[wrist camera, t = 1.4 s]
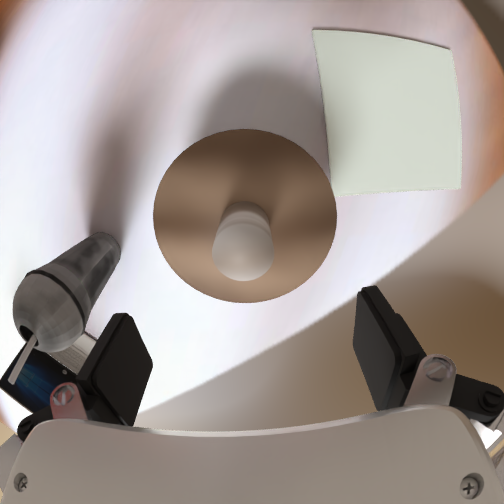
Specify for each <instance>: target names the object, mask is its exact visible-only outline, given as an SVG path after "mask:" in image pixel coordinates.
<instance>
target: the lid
mask: <svg viewBox="0 0 504 504" xmlns="http://www.w3.org/2000/svg"><path fill="white" fill-rule="evenodd" d="M153 222H154V230H155V235H156V239H157V242H158V245H159V248H160V250H161V252H162V254H163V256H164V258H165V259H166V261H167V262H168V264H169V265H170V267H171V268H172V269H173V270H174V271H175V273H176V274H177V275H178V276H179V277H180V278H181V279H183V280H184V281H185V282H186V283H187V284H189V285H190V286H191V287H193V288H194V289H196V290H198V291H200V292H202V293H203V294H206V295H208V296H211V297H213V298H216V299H220V300H223V301H229V302H235V303H255V302H262V301H267V300H271V299H274V298H278V297H280V296H282V295H285V294H287V293H289V292H291V291H293V290H294V289H296V288H298V287H299V286H300V285H302V284H303V283H304V282H306V281H307V280H308V279H309V278H310V277H311V276H312V275H313V274H314V273H315V272H316V271H317V270H318V268H319V267H320V266H321V264H322V263H323V261H324V260H325V258H326V257H327V254H328V252H329V250H330V248H331V246H332V242H333V239H334V236H335V230H336V223H337V210H336V202H335V198H334V194H333V190H332V188H331V185H330V183H329V180H328V178H327V177H326V175H325V173H324V171H323V170H322V168H321V167H320V166H319V164H318V163H317V162H316V161H315V159H314V158H313V157H311V156H310V155H309V154H308V153H307V152H306V151H305V150H304V149H302V148H301V147H300V146H298V145H297V144H295V143H294V142H292V141H290V140H288V139H286V138H284V137H282V136H279V135H276V134H273V133H270V132H266V131H261V130H253V129H237V130H228V131H224V132H219V133H216V134H213V135H211V136H208V137H205V138H203V139H201V140H200V141H198V142H196V143H194V144H193V145H191V146H190V147H189V148H187V149H186V150H185V151H183V152H182V153H181V154H180V155H179V156H178V157H177V158H176V159H175V160H174V161H173V163H172V164H171V165H170V167H169V168H168V169H167V171H166V173H165V174H164V176H163V178H162V180H161V182H160V184H159V187H158V190H157V193H156V197H155V202H154V210H153Z"/></svg>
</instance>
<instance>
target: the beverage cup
mask: <svg viewBox="0 0 504 504" xmlns="http://www.w3.org/2000/svg"><path fill="white" fill-rule="evenodd" d="M120 255H121V252H120V247H119V245H118V243H117V242H116V240H115V239H114V238H113V237H112V236H110V235H109V234H106V233H103V232H100V233H96V234H94V235H92V236H90V237H88V238H86V239H84V240H83V241H81V242H80V243H78V244H77V245H75V246H73V247H72V248H70V249H69V250H67V251H66V252H64V253H63V254H61V255H60V256H58V257H57V258H55V259H54V260H53V261H51V262H50V263H48V264H46V265H44V266H42V267H40V268H38V269H36V270H32V271H31V272H29V273H27V274H26V276H25V278H24V279H23V281H22V282H21V284H20V285H19V287H18V289H17V291H16V293H15V296H14V300H13V318H14V322H15V326H16V328H17V330H18V332H19V334H20V335H21V337H22V338H23V339H24V340H25V342H26V343H27V345H26V347H25V349H24V350H23V352H22V354H21V356H20V358H19V360H18V361H17V363H16V365H15V367H14V369H13V371H12V373H11V375H10V377H9V379H8V381H9V382H10V383H11V384H14V383H15V381H16V379H17V377H18V375H19V373H20V371H21V369H22V367H23V365H24V363H25V361H26V359H27V357H28V355H29V354H30V352H31V350H32V348H35V349H37V350H39V351H43V352H49V353H50V352H58V351H62V350H64V349H66V348H68V347H69V346H70V345H72V344H73V343H74V342H75V341H76V340H77V339H78V338H79V337H80V336H82V335H83V334H84V331H85V328H86V324H87V321H88V318H89V315H90V312H91V310H92V308H93V306H94V304H95V302H96V301H97V299H98V297H99V295H100V294H101V292H102V290H103V288H104V287H105V285H106V283H107V282H108V280H109V278H110V276H111V275H112V273H113V271H114V270H115V267H116V265H117V264H118V262H119V260H120Z"/></svg>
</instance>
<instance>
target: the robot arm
mask: <svg viewBox="0 0 504 504" xmlns="http://www.w3.org/2000/svg"><path fill="white" fill-rule="evenodd" d="M353 348H354V351H355V354H356V356H357V359H358V361H359V363H360V366H361V369H362V372H363V374H364V377H365V379H366V382H367V385H368V387H369V390H370V392H371V395H372V398H373V401H374V404H375V407H376V409H377V410H378V412H374V413H370V414H365V415H360V416H356V417H351V418H346V419H340V420H335V421H329V422H323V423H318V424H311V425H304V426H296V427H289V428H278V429H267V430H253V431H231V432H230V431H228V432H199V431H173V430H160V429H149V428H139V427H132V426H133V425H134V422H135V419H136V416H137V413H138V409H139V406H140V403H141V400H142V397H143V394H144V391H145V388H146V385H147V382H148V379H149V377H150V374H151V371H152V368H153V362H152V359H151V357H150V355H149V353H148V351H147V349H146V347H145V344H144V342H143V340H142V338H141V336H140V333H139V331H138V329H137V327H136V324H135V322H134V320H133V318H132V317H131V316H129V314H128V313H115V314H114V315H113V316H112V318H111V319H110V321H109V322H108V324H107V326H106V327H105V329H104V330H103V332H102V334H101V335H100V337H99V339H98V340H97V342H96V343H95V345H94V347H93V349H92V350H91V352H90V354H89V355H88V357H87V359H86V360H85V362H84V364H83V366H82V367H81V369H80V371H79V373H78V375H77V376H76V378H75V379H76V381H77V384H76V385H75V384H73V383H70V382H69V383H63V384H61V385H59V386H57V387H56V388H55V389H54V390H53V392H52V393H51V396H50V404H51V405H49V406H47V407H45V408H43V409H41V410H39V411H37V412H35V413H33V414H32V415H30V416H28V417H26V418H24V419H23V420H22V421H21V422H20V424H19V426H18V429H17V434H18V435H15V434H14V435H12V436H11V437H10V438H9V439H8V440H7V441H6V442H5V443H4V444H2V445H1V446H0V488H1V490H2V492H3V496H2V500H1V503H0V504H504V393H503V392H502V390H501V389H500V388H498V387H497V386H494V385H491V384H488V383H485V382H481V381H478V380H475V379H472V378H468V377H465V376H462V375H459V374H456V366H455V364H454V363H453V361H452V360H451V359H449V358H448V357H446V356H444V355H440V354H432V355H429V356H427V355H426V353H425V352H424V351H423V349H422V347H421V345H420V344H419V342H418V341H417V339H416V338H415V336H414V335H413V333H412V332H411V330H410V329H409V327H408V325H407V324H406V322H405V321H404V320H403V318H402V317H401V315H400V314H398V313H395V312H394V310H393V309H392V307H391V306H390V304H389V303H388V302H387V300H386V299H385V297H384V296H383V294H382V293H381V292H380V290H379V289H378V287H377V286H375V285H374V286H369V287H363V288H362V290H361V291H360V292H358V294H357V306H356V316H355V327H354V336H353Z"/></svg>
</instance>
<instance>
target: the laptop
mask: <svg viewBox="0 0 504 504" xmlns="http://www.w3.org/2000/svg"><path fill="white" fill-rule="evenodd" d="M96 342H97V341H95V340H94V339H92V338H91V337H89V336H88V335H86V334H85V333H84V334H83V335H82V336H80V337H79V338H78V339H77V340H76V341H75V342H74V343H73V344H72V345H70V346H69V347H68V348H66V349H64V350H62V351H58V352H50V353H49V352H47V353H46V352H43V351H39V350H37V349H35V348H32V350H31V352H30V354H29V355H28V357H27V359H26V361H25V363H24V365H23V367H22V369H21V371H20V373H19V375H18V377H17V379H16V381H15V383H14V384H11V383H10V382H9V381H8V379H9V377H10V375H11V373H12V371H13V369H14V367H15V365H16V363H17V361H18V360H19V358H20V356H21V354H22V352H23V350H24V349H25V347H26V345H27V343H25V345H24V346H23V347H22V349H21V350H20V352H19V353H18V354H17V356H16V357H15V359H14V360H13V361H12V363H11V364H10V366H9V367H8V369H7V370H6V372H5V373H4V375H3V376H2V378H1V379H0V388H1V389H2V390H3V391H4V392H5V393H7V394H8V395H9V396H10V397H11V398H13V399H14V400H15V401H16V402H18V403H19V404H20V405H22V406H23V407H24V408H26V409H27V410H28V411H30V412H31V413H35V412H37V411H39V410H41V409H43V408H45V407H47V406H49V405H51V404H50V396H51V393H52V392H53V390H54V389H55V388H56V387H57V386H59V385H61V384H63V383H69V382H70V383H73V384H75V385H76V384H77V381H76V379H75V378H76V376H77V374H78V373H79V371H80V369H81V367H82V366H83V364H84V362H85V360H86V359H87V357H88V355H89V354H90V352H91V350H92V349H93V347H94V345H95V343H96ZM49 354H50V355H51V356H50V355H49ZM53 357H54V358H55V359H54V358H53ZM57 360H58V361H59V362H58V361H57ZM61 363H62V364H61ZM64 365H65V366H66V367H65V366H64ZM68 368H69V369H68ZM71 370H72V371H71ZM74 372H75V373H74Z"/></svg>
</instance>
